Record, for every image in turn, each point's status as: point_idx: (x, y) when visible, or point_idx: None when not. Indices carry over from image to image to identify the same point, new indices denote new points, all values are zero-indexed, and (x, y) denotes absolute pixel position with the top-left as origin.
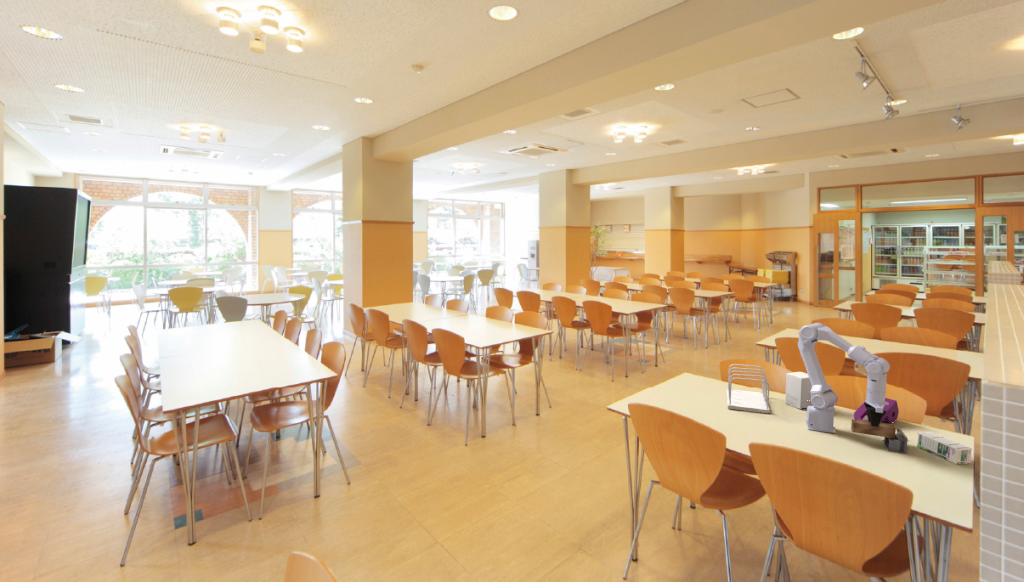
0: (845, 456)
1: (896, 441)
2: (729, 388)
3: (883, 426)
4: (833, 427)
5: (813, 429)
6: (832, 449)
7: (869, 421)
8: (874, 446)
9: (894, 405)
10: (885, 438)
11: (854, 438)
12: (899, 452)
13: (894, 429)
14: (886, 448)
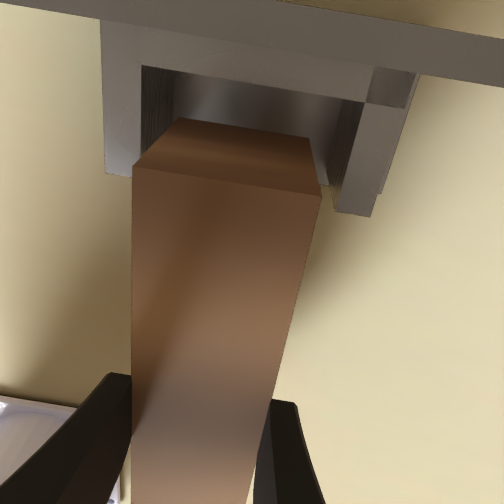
0: (498, 471)
1: (387, 146)
2: None
3: (270, 345)
4: (22, 406)
5: (119, 497)
6: (397, 492)
7: (130, 435)
8: None
9: None
10: None
11: None
12: (410, 96)
13: (317, 205)
14: (323, 182)
